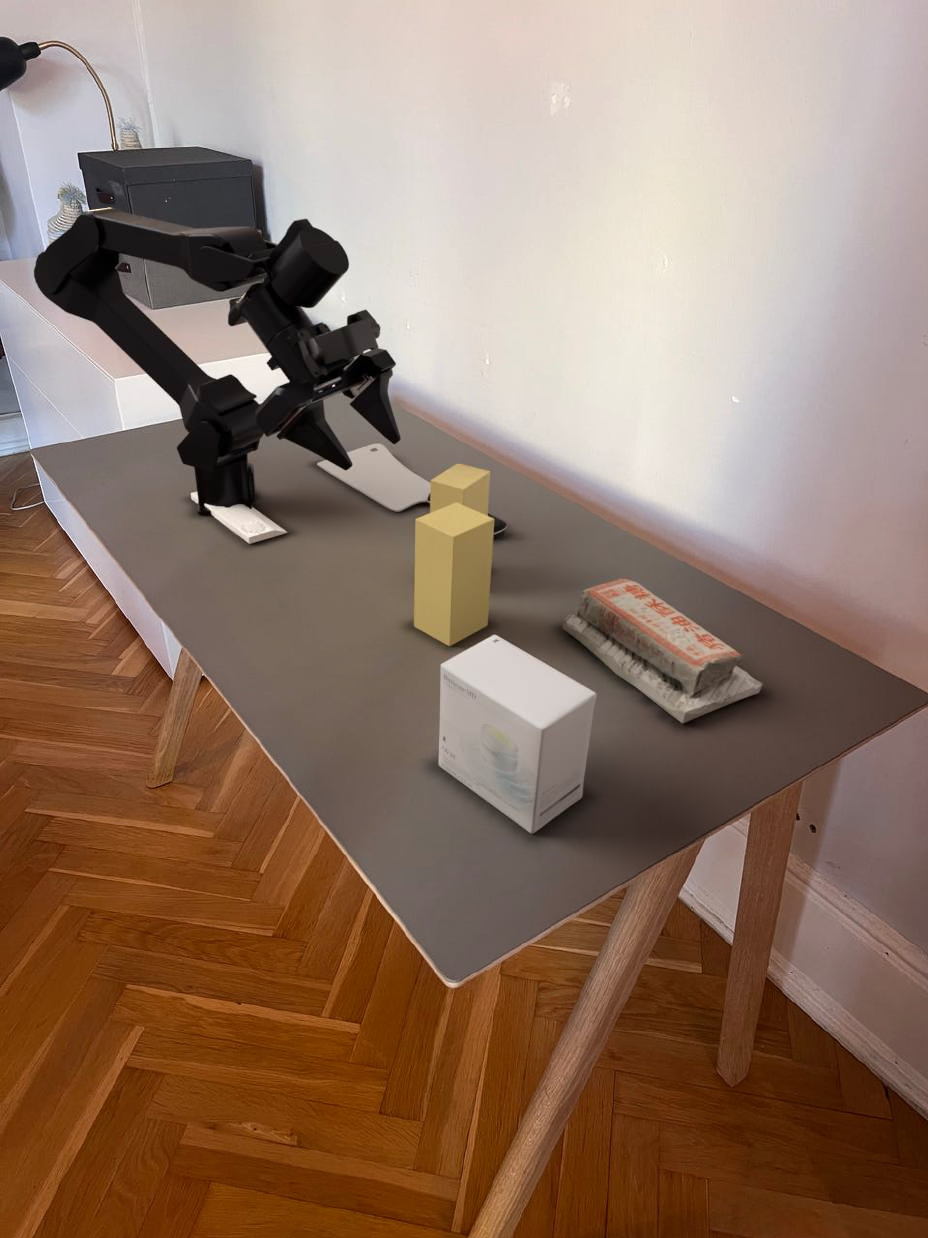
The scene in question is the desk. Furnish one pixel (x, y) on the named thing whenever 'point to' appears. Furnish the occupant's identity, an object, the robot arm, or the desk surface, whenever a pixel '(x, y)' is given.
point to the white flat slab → (244, 521)
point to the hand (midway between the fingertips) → (374, 454)
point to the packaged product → (659, 650)
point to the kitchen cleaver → (388, 480)
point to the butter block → (452, 572)
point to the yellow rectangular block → (461, 488)
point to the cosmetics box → (514, 731)
